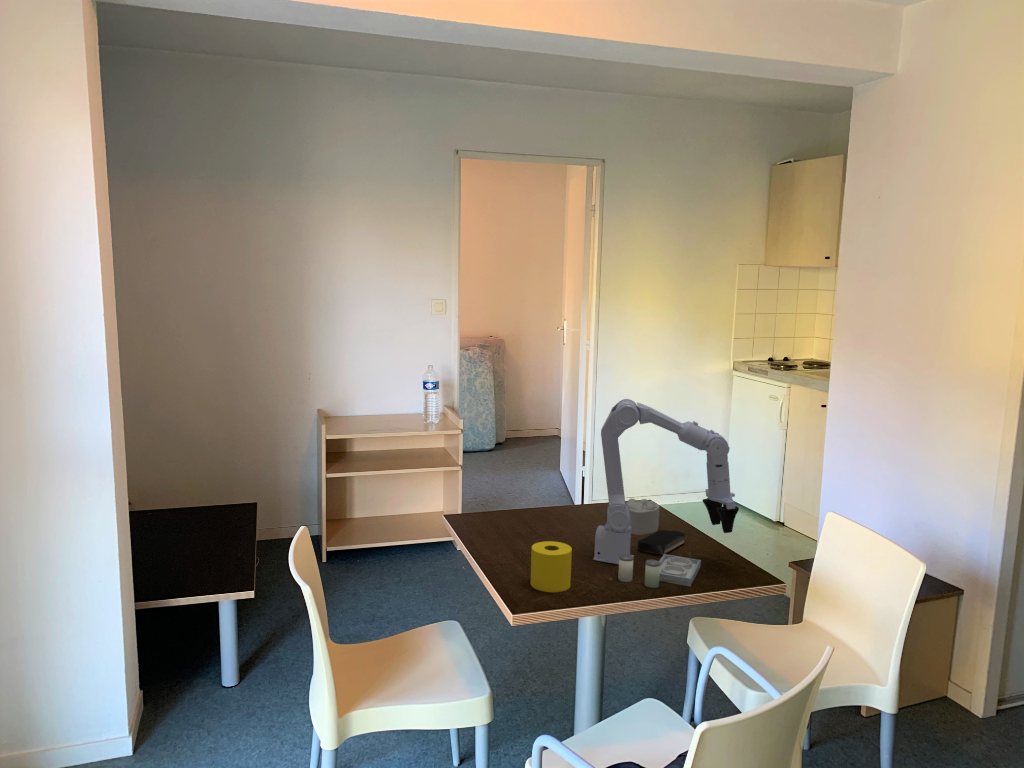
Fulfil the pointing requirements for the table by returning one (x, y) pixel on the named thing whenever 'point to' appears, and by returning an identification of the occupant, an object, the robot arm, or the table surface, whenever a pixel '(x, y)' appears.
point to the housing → (678, 569)
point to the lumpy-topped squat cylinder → (643, 516)
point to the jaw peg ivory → (625, 568)
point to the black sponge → (661, 541)
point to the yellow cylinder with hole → (551, 566)
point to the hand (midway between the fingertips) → (721, 528)
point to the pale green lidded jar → (652, 573)
